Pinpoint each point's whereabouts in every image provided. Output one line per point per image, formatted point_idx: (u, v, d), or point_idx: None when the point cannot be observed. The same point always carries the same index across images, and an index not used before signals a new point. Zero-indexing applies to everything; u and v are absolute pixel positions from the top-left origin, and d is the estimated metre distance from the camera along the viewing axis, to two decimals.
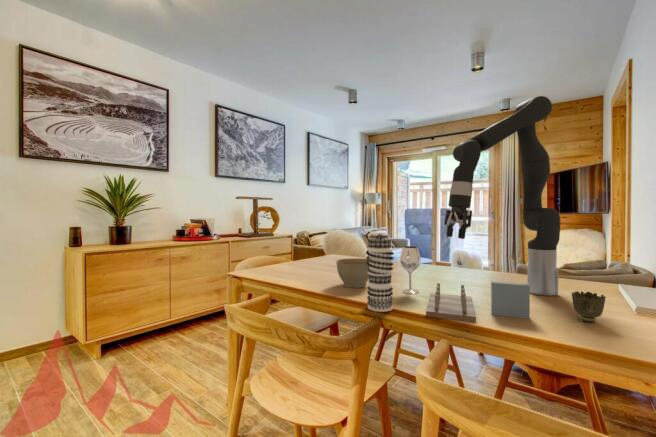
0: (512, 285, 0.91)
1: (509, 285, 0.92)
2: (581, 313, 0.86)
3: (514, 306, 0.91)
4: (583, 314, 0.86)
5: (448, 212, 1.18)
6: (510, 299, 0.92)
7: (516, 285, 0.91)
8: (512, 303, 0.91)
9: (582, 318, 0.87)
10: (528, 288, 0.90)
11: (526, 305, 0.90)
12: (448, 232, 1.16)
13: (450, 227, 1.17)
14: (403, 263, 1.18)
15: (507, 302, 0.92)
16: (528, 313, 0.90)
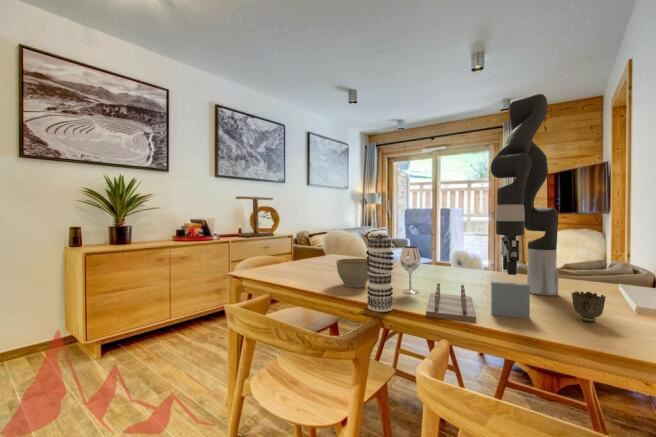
0: (512, 285, 0.91)
1: (509, 285, 0.92)
2: (581, 313, 0.86)
3: (514, 306, 0.91)
4: (583, 314, 0.86)
5: (503, 240, 0.98)
6: (510, 299, 0.92)
7: (516, 285, 0.91)
8: (512, 303, 0.91)
9: (582, 318, 0.87)
10: (528, 288, 0.90)
11: (526, 305, 0.90)
12: (504, 264, 0.96)
13: (506, 258, 0.96)
14: (403, 263, 1.18)
15: (507, 302, 0.92)
16: (528, 313, 0.90)
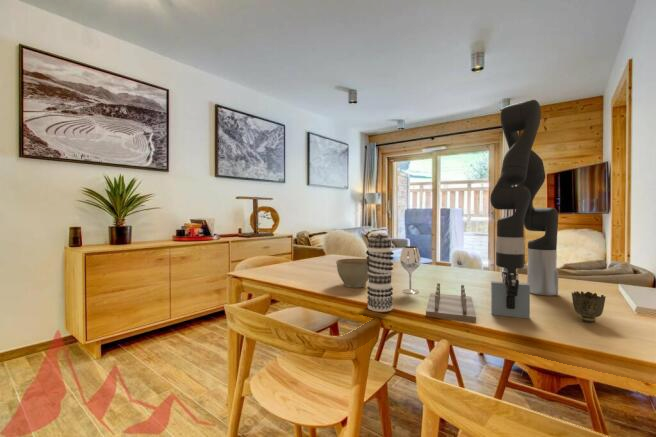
0: None
1: None
2: (581, 313, 0.86)
3: None
4: (583, 314, 0.86)
5: None
6: None
7: None
8: None
9: (582, 318, 0.87)
10: (528, 288, 0.90)
11: (526, 305, 0.90)
12: None
13: None
14: (403, 263, 1.18)
15: None
16: (528, 313, 0.90)
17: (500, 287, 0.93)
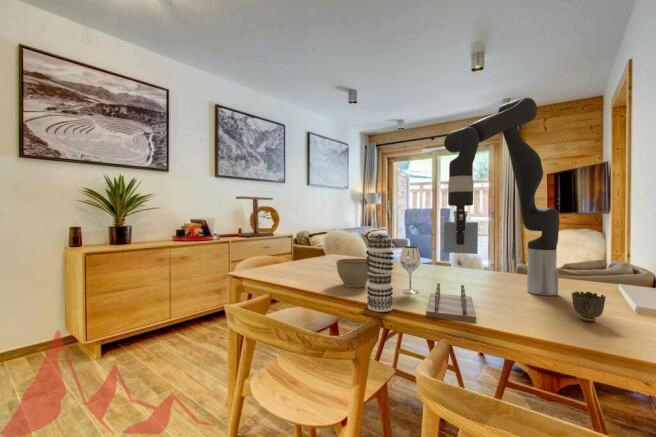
0: None
1: None
2: (581, 313, 0.86)
3: (464, 243, 0.96)
4: (583, 314, 0.86)
5: None
6: None
7: (466, 223, 0.96)
8: None
9: (582, 318, 0.87)
10: (476, 225, 0.95)
11: (474, 241, 0.95)
12: None
13: None
14: (403, 263, 1.18)
15: None
16: (476, 249, 0.95)
17: (451, 226, 0.98)
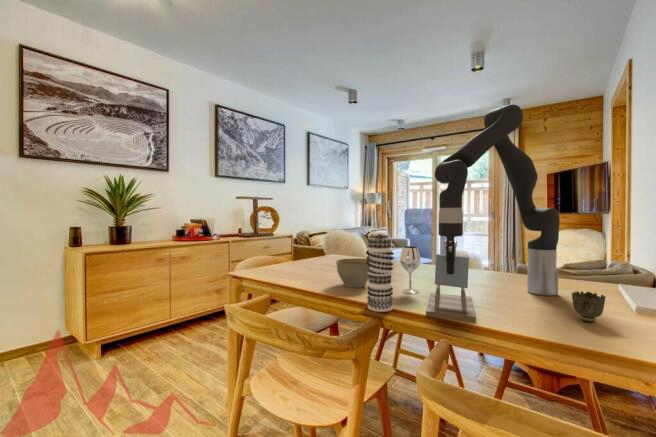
0: (454, 257, 0.98)
1: (451, 257, 0.99)
2: (581, 313, 0.86)
3: (454, 277, 0.98)
4: (583, 314, 0.86)
5: None
6: None
7: (457, 257, 0.98)
8: None
9: (582, 318, 0.87)
10: (467, 260, 0.97)
11: (465, 276, 0.97)
12: None
13: None
14: (403, 263, 1.18)
15: None
16: (466, 283, 0.97)
17: (443, 259, 1.00)
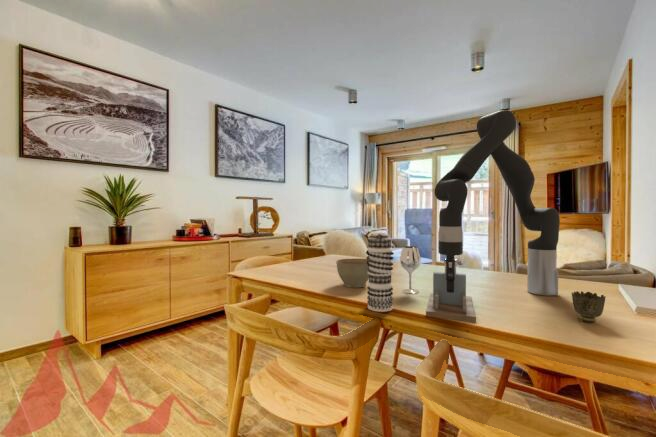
0: (451, 275, 0.99)
1: (448, 275, 0.99)
2: (581, 313, 0.86)
3: (452, 295, 0.99)
4: (583, 314, 0.86)
5: None
6: None
7: None
8: None
9: (582, 318, 0.87)
10: (464, 278, 0.97)
11: None
12: None
13: None
14: (403, 263, 1.18)
15: (446, 291, 0.99)
16: None
17: (440, 277, 1.00)
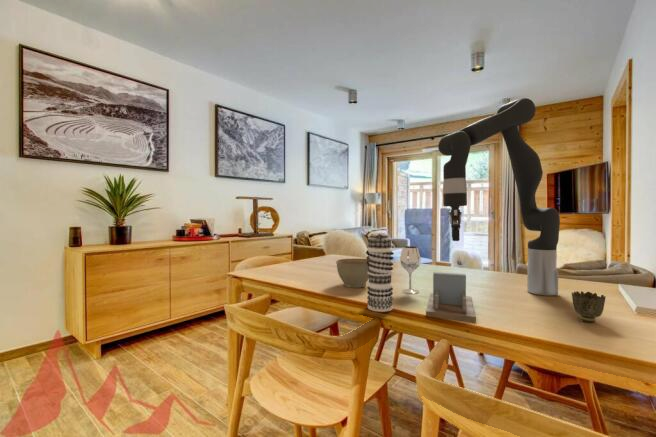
0: (451, 275, 0.99)
1: (448, 275, 0.99)
2: (581, 313, 0.86)
3: (452, 295, 0.99)
4: (583, 314, 0.86)
5: None
6: (449, 288, 0.99)
7: (454, 275, 0.98)
8: (451, 291, 0.99)
9: (582, 318, 0.87)
10: (464, 278, 0.97)
11: None
12: None
13: None
14: (403, 263, 1.18)
15: (446, 291, 0.99)
16: None
17: (440, 277, 1.00)
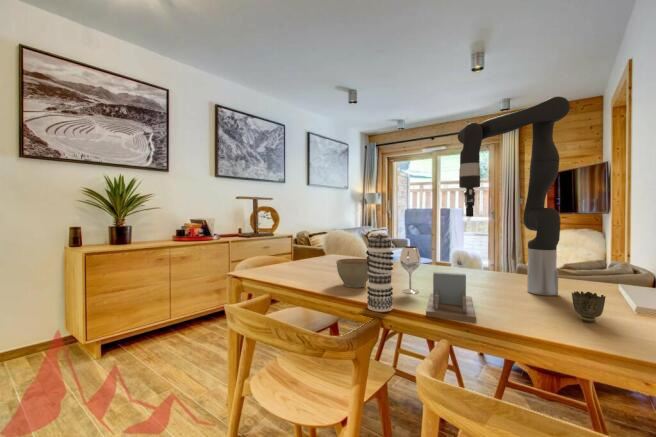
0: (451, 275, 0.99)
1: (448, 275, 0.99)
2: (581, 313, 0.86)
3: (452, 295, 0.99)
4: (583, 314, 0.86)
5: None
6: (449, 288, 0.99)
7: (454, 275, 0.98)
8: (451, 291, 0.99)
9: (582, 318, 0.87)
10: (464, 278, 0.97)
11: None
12: (467, 212, 1.23)
13: None
14: (403, 263, 1.18)
15: (446, 291, 0.99)
16: None
17: (440, 277, 1.00)
